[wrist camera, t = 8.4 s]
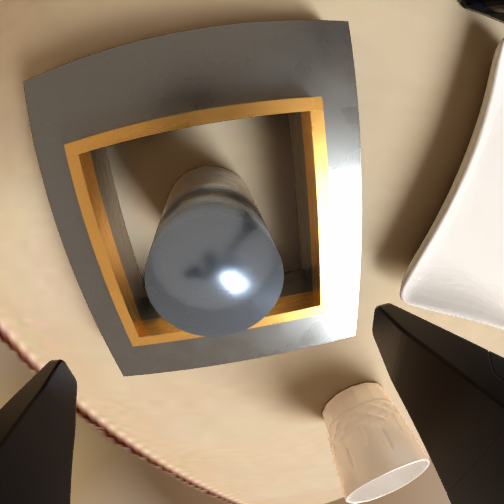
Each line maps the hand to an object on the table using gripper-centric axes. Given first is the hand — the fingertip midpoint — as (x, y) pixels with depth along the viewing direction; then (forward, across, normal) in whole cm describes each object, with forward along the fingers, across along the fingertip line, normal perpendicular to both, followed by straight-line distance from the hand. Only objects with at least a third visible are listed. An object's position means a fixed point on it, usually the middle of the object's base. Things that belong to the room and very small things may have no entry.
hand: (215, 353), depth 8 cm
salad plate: (+12, -25, +3) cm, 28 cm away
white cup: (+11, -10, +22) cm, 27 cm away
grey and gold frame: (+11, 0, 0) cm, 11 cm away
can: (+11, 0, 0) cm, 11 cm away
